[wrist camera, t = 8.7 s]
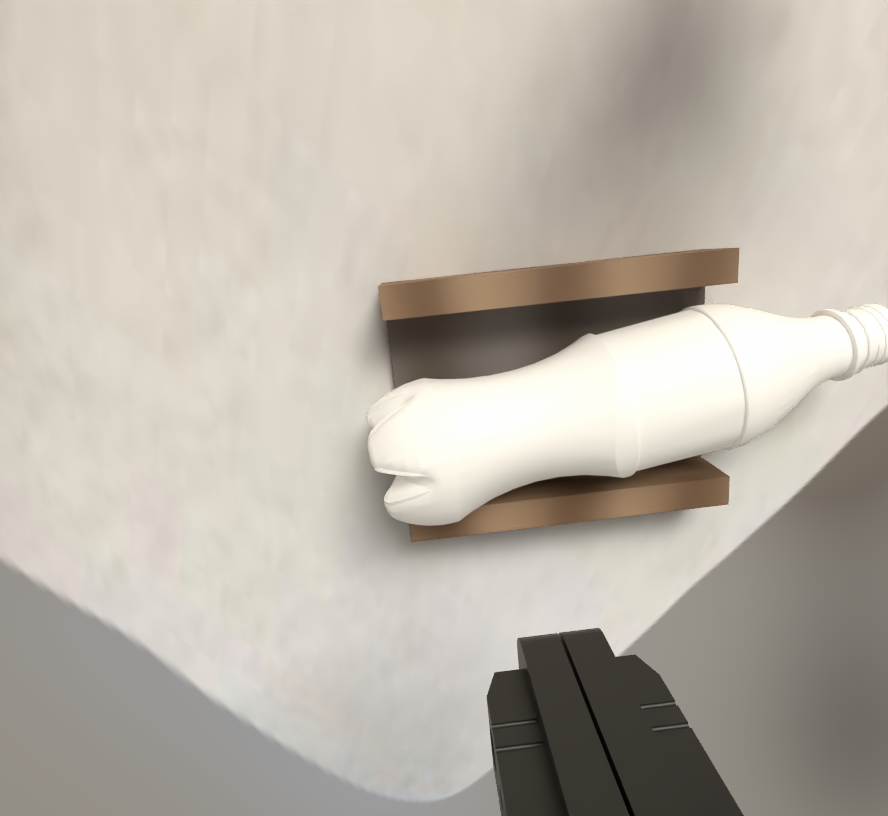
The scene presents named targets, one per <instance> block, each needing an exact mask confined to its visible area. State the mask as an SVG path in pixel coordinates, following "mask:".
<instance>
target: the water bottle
mask: <svg viewBox="0 0 888 816" xmlns="http://www.w3.org/2000/svg"><path fill="white" fill-rule="evenodd" d="M887 361H888V309H887V308H885V307H883V306H882V305H880V304H867V305H860V306H856V307H851V308H849V309H846V310H845V309H834V310H833V309H823V310H820V311H817V312H815V313H814V314H812V315H811V316H810V317H809V318H789V317H784V316H780V315H775V314H771V313H767V312H764V311H760V310H756V309H750V308H745V307H740V306H734V305H727V304H704V305H697V306H691V307H687V308H684V309H683V310H682V311H680V312H678V313H674V314H671V315H667V316H663V317H660V318H656V319H652V320H649V321H645V322H641V323H638V324H634V325H630V326H627V327H623V328H619V329H616V330H612V331H608V332H605V333H601V334H597V335H594V334H586V335H584V336H582V337H581V338H579V339H578V340H576V341H575V342H574V343H572V344H571V345H570V346H568V347H566V348H565V349H563V350H561V351H560V352H558V353H556V354H554V355H552V356H550V357H548V358H545V359H543V360H541V361H539V362H536V363H534V364H531V365H528V366H525V367H522V368H519V369H516V370H512V371H508V372H503V373H499V374H494V375H489V376H481V377H474V378H465V379H430V378H422V379H418V380H415V381H412V382H409V383H406V384H404V385H402V386H400V387H398V388H395V389H393V390H392V391H390V392H389V393H387V394H386V395H384V396H383V397H381V398H380V399H379V400H378V401H376V402H375V403H374V404H373V405H372V406H371V407H370V408H369V409H368V411H367V413H366V419H367V423H368V424H369V426H370V427H371V428H372V429H373V430H372V431H371V432H370V434H369V436H368V444H367V448H368V453H369V458H370V462H371V464H372V466H373V467H374V470H375V471H377V472H381V473H387V474H393V475H396V477H395V479H394V481H393V483H392V485H391V486H390V488H389V489H388V491H387V492H386V494H385V497H384V505H385V507H386V509H387V511H388V513H389V514H390V516H392V517H393V518H394V519H396V520H399V521H402V522H406V523H410V524H415V525H426V526H433V525H445V524H450V523H455V522H458V521H460V520H462V519H463V518H464V517H465V516H467V515H468V514H469V513H471V512H472V511H474V510H475V509H477V508H478V507H480V506H482V505H483V504H485V503H486V502H488V501H490V500H491V499H493V498H495V497H497V496H500V495H502V494H504V493H506V492H508V491H510V490H512V489H515V488H518V487H521V486H524V485H527V484H530V483H533V482H536V481H541V480H546V479H551V478H556V477H563V476H576V475H598V476H612V477H620V478H625V477H629V476H632V475H633V474H634V473H635V472H636V471H639V470H643V469H647V468H651V467H655V466H658V465H662V464H666V463H670V462H674V461H678V460H682V459H685V458H689V457H693V456H697V455H701V454H705V453H709V452H713V451H716V450H720V449H721V450H730V449H733V448H736V447H739V446H742V445H745V444H747V443H749V442H750V441H752V440H754V439H756V438H758V437H760V436H762V435H763V434H764V433H766V432H767V431H768V430H770V429H771V428H772V427H773V426H774V425H776V424H777V423H778V422H779V421H780V420H781V419H782V418H783V417H784V416H786V415H787V414H788V413H789V412H790V411H791V410H792V409H793V408H794V407H795V406H796V405H797V404H798V403H799V402H800V401H801V400H802V398H803V397H804V396H806V395H807V394H808V393H809V392H810V391H811V390H812V389H813V388H815V387H816V386H818V385H819V384H821V383H823V382H825V381H827V380H829V379H830V380H833V381H841V380H845V379H848V378H850V377H851V376H853V375H854V374H856V373H859V372H861V371H862V370H863V369H865V368H868V367H872V366H876V365H881V364H883V363H885V362H887Z"/></svg>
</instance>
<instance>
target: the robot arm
mask: <svg viewBox="0 0 888 816" xmlns="http://www.w3.org/2000/svg"><path fill="white" fill-rule="evenodd" d="M517 648H518V661H519V670H511V671H503V672H495V673H494V676H493V679H492V682H491V685H490V688H489V691H488V695H487V704H488V715H489V725H490V735H491V745H492V756H493V766H494V772H495V778H496V784H497V791H498V796H499V803H500V810H501V816H744V815H743V814H742V812H741V810H740V809H739V807H738V805H737V804H736V802H735V800H734V799H733V797H732V795H731V794H730V792H729V790H728V789H727V787H726V785H725V784H724V782H723V780H722V779H721V777H720V775H719V774H718V772H717V770H716V769H715V767H714V765H713V764H712V762H711V760H710V759H709V757H708V755H707V753H706V752H705V750H704V748H703V747H702V745H701V743H700V742H699V740H698V739H697V737H696V735H695V733H694V732H693V730H692V728H689V726H688V722H687V720H686V718H685V717H684V715H683V713H682V712H681V710H680V708H679V707H678V706H676V704H675V700H674V698H673V697H672V695H671V693H670V692H669V690H668V688H667V686H666V685H665V683H664V681H663V680H662V678H661V677H660V675H659V674H658V673H657V672H656V671H654V670H653V669H652V668H651V667H649V666H648V665H647V664H646V663H645V662H643V661H642V660H641V659H640V658H639V657H637V656H636V655H629V656H620V657H615V655H614V653H613V652H612V650H611V648H610V646H609V644H608V642H607V640H606V638H605V636H604V634H603V632H602V631H601V629H599V628H594V629H586V630H578V631H570V632H562V633H559V635H558V634H557V633H555V634H547V635H539V636H531V637H523V638H518V640H517Z"/></svg>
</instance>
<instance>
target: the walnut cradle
mask: <svg viewBox="0 0 888 816" xmlns="http://www.w3.org/2000/svg"><path fill="white" fill-rule="evenodd" d="M738 264H739V248H724V249H701V250H691V251H682V252H672V253H663V254H653V255H644V256H634V257H625V258H615V259H606V260H597V261H587V262H578V263H568V264H559V265H549V266H540V267H530V268H521V269H511V270H502V271H492V272H483V273H473V274H464V275H455V276H445V277H436V278H426V279H417V280H407V281H398V282H388V283H382V284H380V285H379V286H378V289H379V296H380V304H381V312H382V319H383V321H386V320H387V328H388V336H389V344H390V352H391V359H392V367H393V375H394V383H395V388H398V387H400V386H402V385H404V384H406V383H409V382H412V381H415V380H418V379H422V378H430V379H465V378H474V377H481V376H489V375H494V374H499V373H503V372H508V371H512V370H516V369H519V368H522V367H525V366H528V365H531V364H534V363H536V362H539V361H541V360H543V359H545V358H548V357H550V356H552V355H554V354H556V353H558V352H560V351H561V350H563V349H565V348H566V347H568V346H570V345H571V344H572V343H574V342H575V341H576V340H578V339H579V338H581V337H582V336H584V335H586V334H594V335H597V334H601V333H605V332H608V331H612V330H616V329H619V328H623V327H627V326H630V325H634V324H638V323H641V322H645V321H649V320H652V319H656V318H660V317H663V316H667V315H671V314H674V313H678V312H680V311H682V310H683V309H684V308H687V307H691V306H697V305H704V301H705V286H711V285H720V284H730V283H738ZM729 478H730V477H729V476H728V475H726V474H725V473H723V472H722V471H721V470H719V469H718V468H716V467H715V466H713V465H712V464H710V463H709V462H707V461H706V460H704V459H703V458H701V457H700V455H697V456H693V457H689V458H685V459H682V460H678V461H674V462H670V463H666V464H662V465H658V466H655V467H651V468H647V469H643V470H639V471H636V472H635V473H634V474H633V475H632V476H629V477H625V478H620V477H612V476H598V475H576V476H563V477H556V478H551V479H546V480H541V481H536V482H533V483H530V484H527V485H524V486H521V487H518V488H515V489H512V490H510V491H508V492H506V493H504V494H502V495H500V496H497V497H495V498H493V499H491V500H490V501H488V502H486V503H485V504H483V505H482V506H480V507H478V508H477V509H475V510H474V511H472V512H471V513H469V514H468V515H467V516H465V517H464V518H463V519H462V520H460V521H458V522H455V523H450V524H445V525H433V526H426V525H415V524H410V523H409V527H410V535H411V542H415V541H424V540H432V539H441V538H449V537H458V536H466V535H474V534H483V533H491V532H500V531H508V530H517V529H525V528H533V527H542V526H550V525H559V524H567V523H576V522H584V521H592V520H601V519H609V518H618V517H626V516H635V515H643V514H651V513H660V512H668V511H677V510H685V509H694V508H702V507H710V506H719V505H727V504H728V501H729Z"/></svg>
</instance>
